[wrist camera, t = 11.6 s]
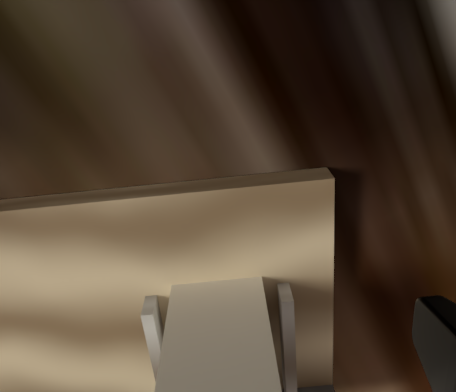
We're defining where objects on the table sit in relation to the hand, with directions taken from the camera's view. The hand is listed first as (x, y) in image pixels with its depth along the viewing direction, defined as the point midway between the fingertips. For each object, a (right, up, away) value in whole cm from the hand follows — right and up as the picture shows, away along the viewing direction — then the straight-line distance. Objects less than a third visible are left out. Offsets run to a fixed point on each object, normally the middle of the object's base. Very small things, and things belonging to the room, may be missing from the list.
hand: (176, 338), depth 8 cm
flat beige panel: (-4, -3, +16) cm, 17 cm away
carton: (+1, -5, +15) cm, 16 cm away
